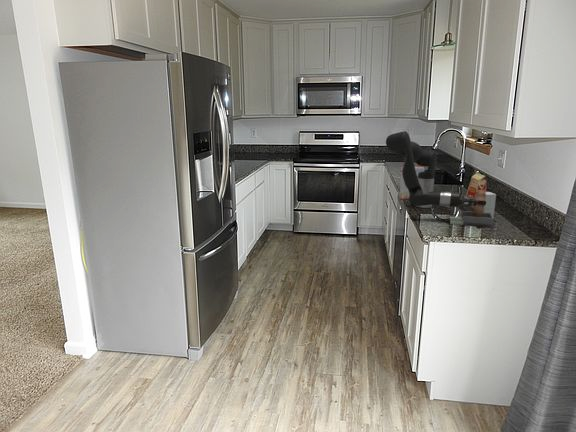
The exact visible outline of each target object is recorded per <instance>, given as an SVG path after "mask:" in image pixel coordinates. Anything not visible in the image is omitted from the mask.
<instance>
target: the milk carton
mask: <svg viewBox="0 0 576 432" xmlns="http://www.w3.org/2000/svg"><path fill="white" fill-rule="evenodd" d="M478 190H483V191H485V192H487V179H486V175H484V174H481V173H480V172H477V171H475V174H473V175H472V176H471V179H470V182H469V186H468V187H467V192H466V195H465V196H471V197H475V193H476V192H477V191H478Z"/></svg>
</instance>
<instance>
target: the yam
mask: <svg viewBox="0 0 576 432" xmlns="http://www.w3.org/2000/svg"><path fill="white" fill-rule="evenodd" d="M485 198H486V193H485V191H483V190H478V191H477V192H476V193H475V199H474V200H480V201H485ZM484 206H485V205H478V204H477V205H476V206H472V207H473V208H472V209H473V210H472V212H473V214H472V216H474V217H483V213H484Z"/></svg>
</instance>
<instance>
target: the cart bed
mask: <svg viewBox="0 0 576 432" xmlns="http://www.w3.org/2000/svg"><path fill="white" fill-rule="evenodd" d="M461 212H462V214H461V216H449V222H450V225H456V224H457V225H459V226H468V225H470V226H471V227H479V228H480V227H481V228H483V227H484V228H494V227H495V220H496V219H495V217H494V216H493V215H492V213H483V217H474V216H472V214H473V211H468V210H467V211H466V210H465V211H464V210H463V211H461ZM457 225H456V226H457Z"/></svg>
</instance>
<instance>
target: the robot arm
mask: <svg viewBox="0 0 576 432" xmlns="http://www.w3.org/2000/svg"><path fill="white" fill-rule="evenodd" d="M385 146H386V148H387V149H388V151H389V152H391V153H395V154H398V155H400V156H403V157H404V158H405V159H404V163H403V166H402V167H403V170H402V176H403V179H404V182H405V185H406V187H407V188H408V190H409V194H410V195H409V200H408V202H409V203H410V204H411V205H413V206H415V207H417V208H422V209H423V208H424V209H425V208H427V209H429V208H432V206H441V207H448V208H449V207H450V208H459V206H460V204H462V205H463V206H466V207H467V206H468V207H471V206H472V207H473V206H476V205H477V204H478V205H486V201H480V200H474V199H475V197H471V196H466V195H462V196H461V193H460V192H455V191H454V192H453V191H452V192H451V191H434V186H435V185H434V184H435V175H436V167H437V161H438V154H437V151H435V150H425V149H423V147H422V146H421V145H420V144H419V143H417V142H415V141H412V140H411V138H410V135H409V133H408V131H405V130H404V131H400V132H399V131H398V132H395V133H391V134H390V135H388V136H387V137H386V140H385ZM415 164H417V165H418V167H427V169H426V170H424V172H420V173H418V177H417V174H416V170H415V167H416V166H415Z"/></svg>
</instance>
